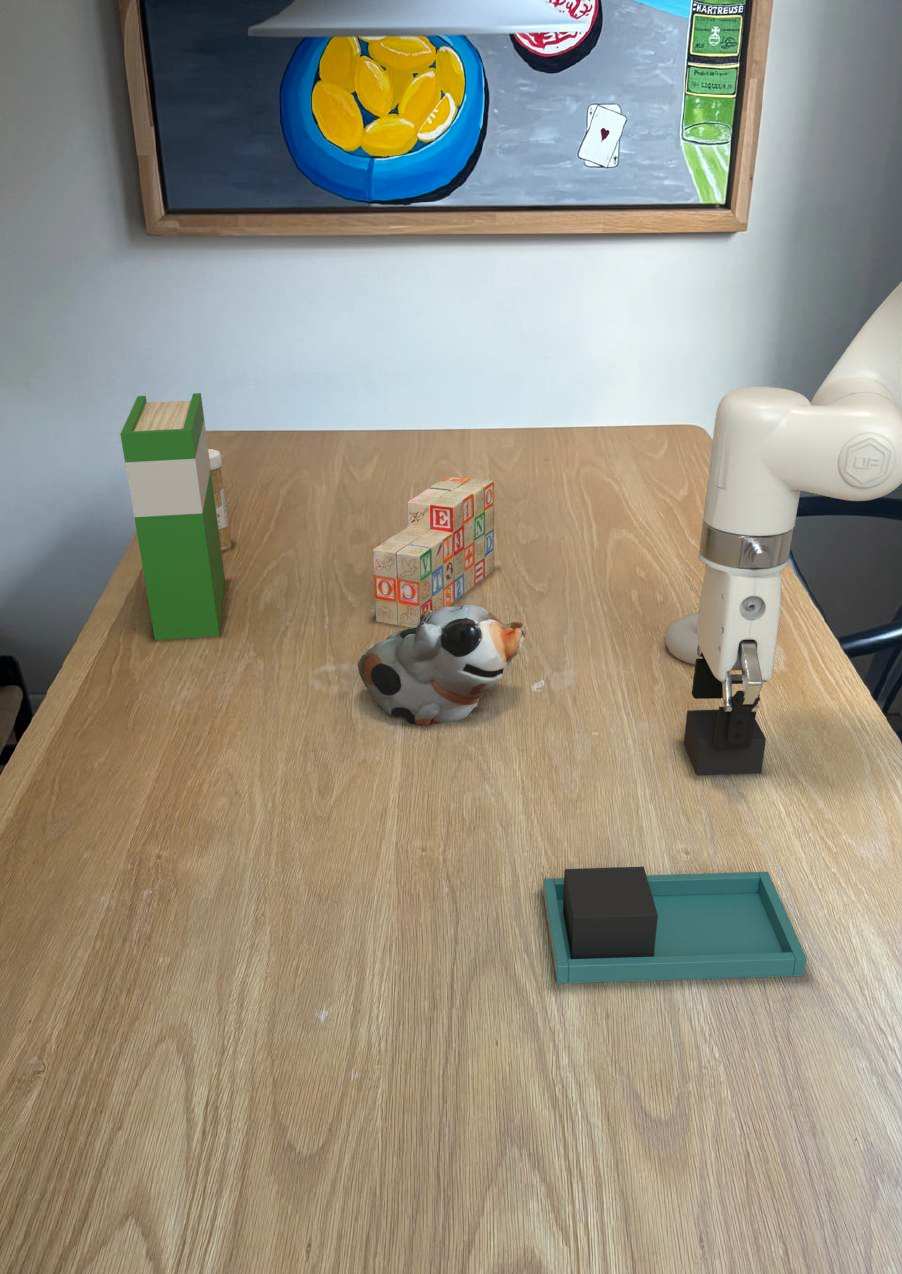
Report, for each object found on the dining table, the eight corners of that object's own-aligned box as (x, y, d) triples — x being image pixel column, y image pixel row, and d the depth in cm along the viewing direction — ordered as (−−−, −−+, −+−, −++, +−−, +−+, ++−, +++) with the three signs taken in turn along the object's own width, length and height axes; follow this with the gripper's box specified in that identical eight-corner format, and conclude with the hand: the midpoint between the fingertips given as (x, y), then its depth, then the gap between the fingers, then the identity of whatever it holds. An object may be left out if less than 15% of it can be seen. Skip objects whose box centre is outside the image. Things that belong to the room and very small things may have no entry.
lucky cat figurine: (453, 661, 128) (511, 565, 119) (499, 741, 122) (564, 646, 113) (337, 657, 119) (390, 553, 110) (380, 743, 113) (440, 640, 105)
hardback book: (167, 587, 149) (137, 396, 137) (225, 583, 150) (200, 393, 137) (155, 642, 134) (120, 434, 122) (219, 638, 135) (191, 430, 122)
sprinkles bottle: (197, 555, 159) (183, 457, 152) (201, 544, 163) (187, 448, 156) (230, 553, 160) (218, 456, 152) (233, 542, 163) (221, 447, 156)
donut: (743, 680, 123) (762, 642, 131) (747, 650, 122) (766, 614, 129) (653, 665, 127) (676, 629, 135) (655, 636, 125) (679, 601, 133)
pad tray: (764, 892, 91) (768, 871, 90) (802, 981, 82) (806, 958, 81) (542, 899, 91) (543, 878, 90) (556, 989, 82) (557, 966, 81)
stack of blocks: (421, 632, 136) (417, 530, 129) (375, 624, 138) (369, 523, 131) (495, 571, 152) (495, 478, 145) (452, 565, 154) (450, 473, 148)
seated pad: (640, 908, 89) (643, 866, 87) (653, 958, 84) (658, 914, 81) (562, 910, 89) (564, 868, 87) (571, 961, 84) (573, 917, 81)
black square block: (745, 745, 111) (750, 708, 109) (760, 776, 106) (766, 738, 104) (683, 746, 111) (687, 710, 109) (696, 778, 106) (700, 740, 104)
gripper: (819, 580, 90) (785, 768, 99) (763, 510, 105) (737, 679, 114) (724, 581, 90) (698, 769, 99) (681, 510, 105) (662, 680, 114)
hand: (719, 721), depth 106 cm, fingers open, 9 cm apart
